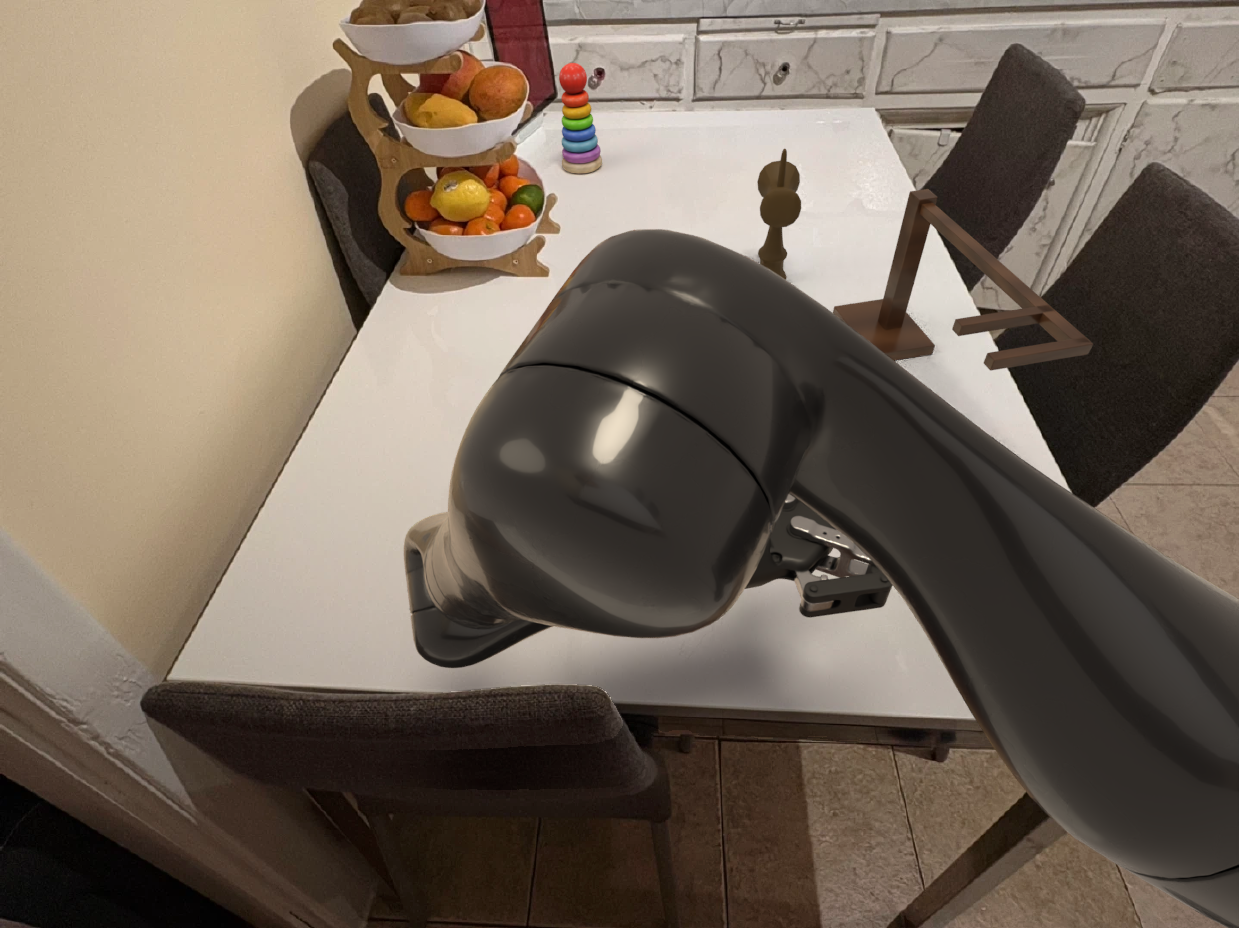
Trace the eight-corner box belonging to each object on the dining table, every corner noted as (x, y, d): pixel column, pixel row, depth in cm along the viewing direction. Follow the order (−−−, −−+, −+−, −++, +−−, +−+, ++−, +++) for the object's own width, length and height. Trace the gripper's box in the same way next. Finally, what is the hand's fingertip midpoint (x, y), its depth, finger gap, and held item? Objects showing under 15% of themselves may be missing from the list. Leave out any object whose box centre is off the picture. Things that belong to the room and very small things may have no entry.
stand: (1043, 484, 79) (1125, 333, 65) (936, 504, 78) (996, 354, 64) (891, 305, 104) (926, 169, 90) (808, 318, 103) (831, 182, 89)
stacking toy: (573, 156, 147) (563, 54, 134) (608, 161, 144) (603, 57, 131) (555, 172, 142) (544, 67, 129) (592, 177, 139) (584, 71, 126)
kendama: (788, 265, 113) (805, 134, 99) (790, 298, 107) (810, 163, 93) (749, 264, 114) (761, 134, 100) (749, 297, 107) (762, 163, 93)
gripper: (725, 596, 44) (973, 548, 46) (668, 439, 54) (873, 405, 56) (718, 659, 49) (940, 614, 51) (667, 506, 59) (855, 473, 61)
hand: (905, 505), depth 53 cm, fingers open, 8 cm apart
